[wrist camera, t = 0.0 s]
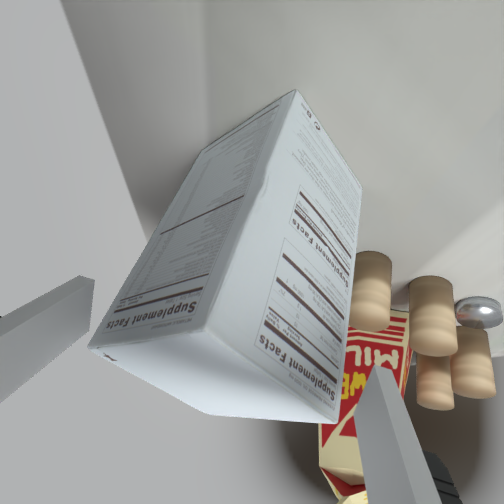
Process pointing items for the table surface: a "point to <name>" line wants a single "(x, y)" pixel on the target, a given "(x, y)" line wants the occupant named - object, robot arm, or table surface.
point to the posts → (425, 332)
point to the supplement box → (247, 276)
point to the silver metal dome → (479, 312)
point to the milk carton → (354, 380)
